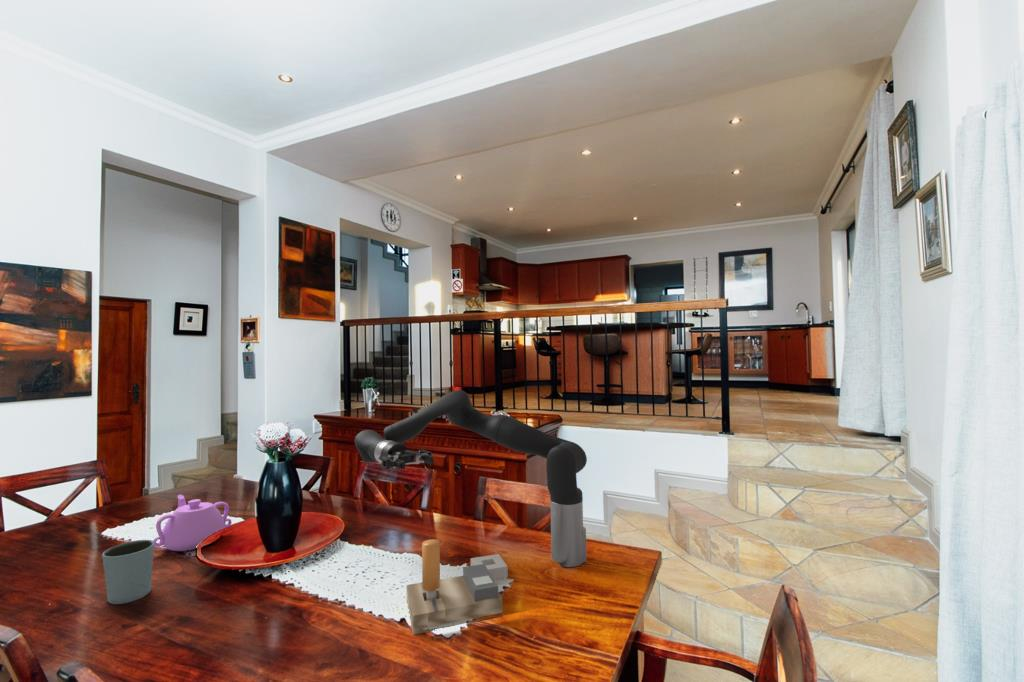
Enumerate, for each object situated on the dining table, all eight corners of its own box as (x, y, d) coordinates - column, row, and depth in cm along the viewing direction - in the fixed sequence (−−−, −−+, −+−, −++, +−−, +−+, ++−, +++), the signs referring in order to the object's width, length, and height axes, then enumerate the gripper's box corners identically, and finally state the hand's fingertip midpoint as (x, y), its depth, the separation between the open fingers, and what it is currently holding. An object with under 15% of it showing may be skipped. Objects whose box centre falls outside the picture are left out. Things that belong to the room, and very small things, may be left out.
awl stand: (498, 568, 129) (498, 553, 130) (507, 581, 122) (507, 566, 122) (470, 573, 127) (470, 558, 127) (477, 587, 119) (477, 571, 119)
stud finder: (484, 573, 118) (484, 563, 118) (498, 597, 107) (497, 585, 107) (463, 577, 116) (463, 566, 116) (474, 601, 105) (474, 589, 105)
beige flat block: (486, 587, 119) (486, 571, 119) (502, 616, 106) (502, 598, 106) (406, 601, 113) (406, 584, 113) (413, 634, 99) (413, 615, 100)
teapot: (214, 524, 166) (214, 485, 167) (242, 538, 154) (242, 496, 154) (137, 546, 148) (138, 502, 149) (163, 563, 136) (163, 515, 136)
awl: (438, 602, 110) (438, 538, 111) (441, 611, 106) (440, 544, 107) (421, 605, 109) (421, 540, 109) (423, 614, 105) (423, 547, 106)
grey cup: (163, 589, 121) (163, 542, 121) (119, 609, 111) (119, 558, 111) (136, 583, 124) (136, 537, 124) (91, 602, 114) (92, 553, 115)
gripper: (368, 444, 135) (394, 453, 123) (412, 438, 145) (440, 445, 132) (368, 470, 135) (394, 482, 123) (413, 462, 144) (440, 472, 132)
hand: (418, 463), depth 127 cm, fingers open, 8 cm apart
